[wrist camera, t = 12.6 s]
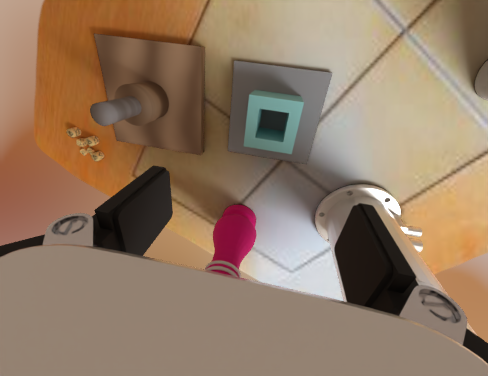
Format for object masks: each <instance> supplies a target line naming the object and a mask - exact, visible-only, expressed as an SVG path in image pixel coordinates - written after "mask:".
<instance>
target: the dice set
mask: <svg viewBox="0 0 488 376" xmlns="http://www.w3.org/2000/svg"><path fill="white" fill-rule="evenodd" d="M67 134H68V135H69V136H70V137H72V138H73V137H76V136H79V135H81V130H80V129H79V128H78V127H74V128H70V129H67ZM98 143H99V139H98V137H96V136H95V135H94V136H91V137H88V138H80V139H77V145H79V146H81V147H84V146H86V145H87V144H88V145H89V146H94V145H96V144H98ZM94 151H95V150H93V149H92V148H91V147H88V149H87V151H86V150H85V149H84V148H82V149H81V150H80V152H81V153H82V154H83V155H84V156H85V155H86V154H87V153H90V154H91V157H92V159H93V160H94V161H99V160H101V159H103V158H104V157H105V156H104V153H103V152H101V151H97V152H94Z"/></svg>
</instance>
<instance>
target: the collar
mask: <svg viewBox="0 0 488 376" xmlns="http://www.w3.org/2000/svg"><path fill="white" fill-rule="evenodd" d="M303 105H304V101H303V99H302V97H301V96H296V95H289V94H282V93H275V92H268V91H261V90H254V91H253V92H252V93H251V94H249V102H248V111H247V120H246V129H245V138H244V146H245V147H251V148H257V149H263V150H269V151H275V152H281V153H287V154H292V150H293V146H294V142H295V138H296V134H297V130H298V126H299V121H300V117H301V113H302V109H303ZM262 109H265V110H272V111H279V112H285V113H287V117H286V122H285V127H284V131H280V130H274V129H268V128H261V127H260V121H261V114H262Z"/></svg>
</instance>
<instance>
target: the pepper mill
mask: <svg viewBox="0 0 488 376" xmlns="http://www.w3.org/2000/svg"><path fill="white" fill-rule="evenodd" d="M255 224H256V216H255V214H254V213H253V211H252V210H251V209H249V208H248V207H246V206H243V205H232V206H229V207H228V208H226V210H225V211H224V213H223V216H222V218H221V219H219V220H218V221H217V223H216V225H215V228H214V231H213V241H214V247H215V253H214V257H213V260H212V262H210V263H209V264H208V265H207V266H206V268H205V270H209V271H213V272H218V273H222V274H227V275H231V276H236V277H240V278H241V274H240V272H239V266H240V263H241V261H242V260H243V258H244V257H245V256H246V255H247V254H248V253H249V251H250V250H251V248H252V247H253V245H254V242H255V239H256V230H255Z"/></svg>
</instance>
